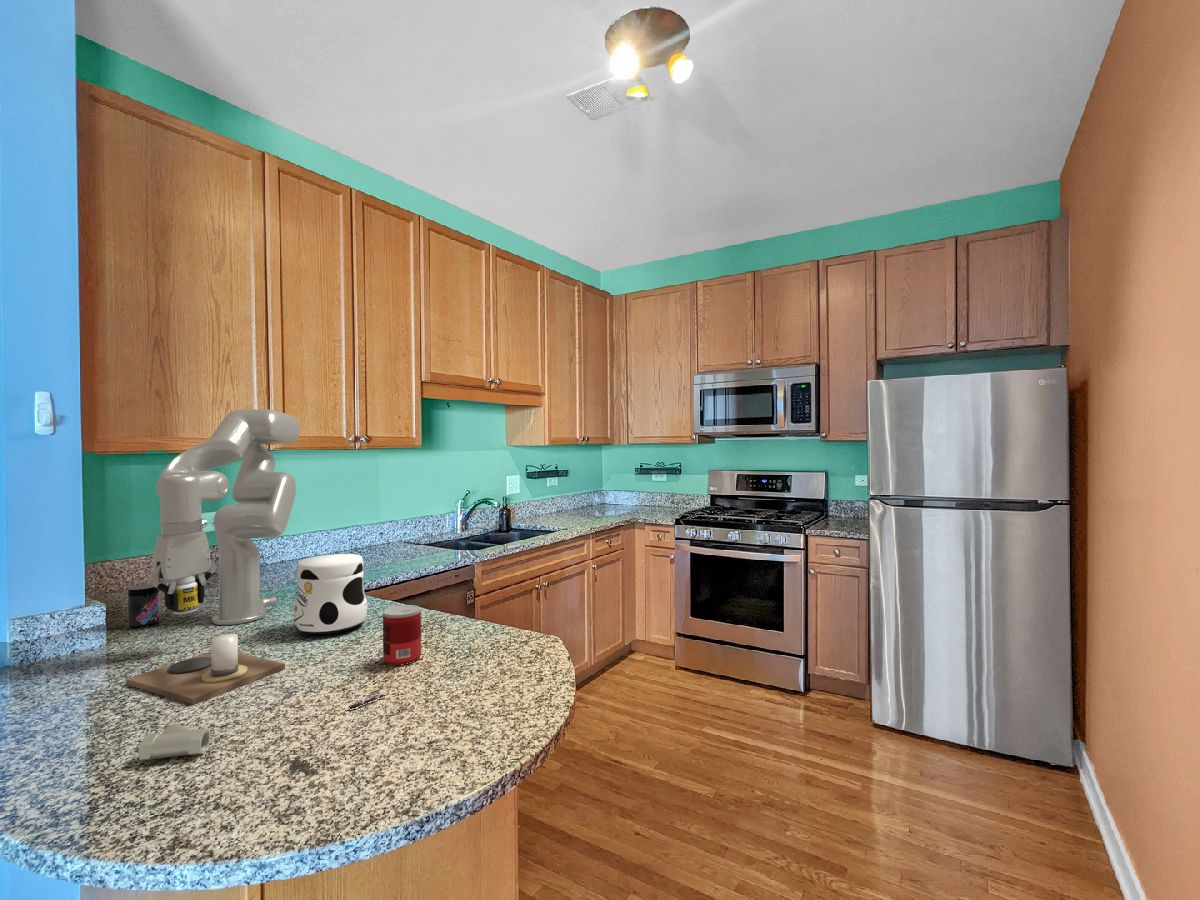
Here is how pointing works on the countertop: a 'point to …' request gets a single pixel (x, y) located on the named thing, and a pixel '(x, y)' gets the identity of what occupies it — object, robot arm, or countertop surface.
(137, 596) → the supplement container
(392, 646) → the canned food
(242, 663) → the pin board
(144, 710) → the countertop surface
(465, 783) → the countertop surface
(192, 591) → the supplement bottle
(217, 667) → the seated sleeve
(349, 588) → the milk container
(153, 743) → the pipe fitting
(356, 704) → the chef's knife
